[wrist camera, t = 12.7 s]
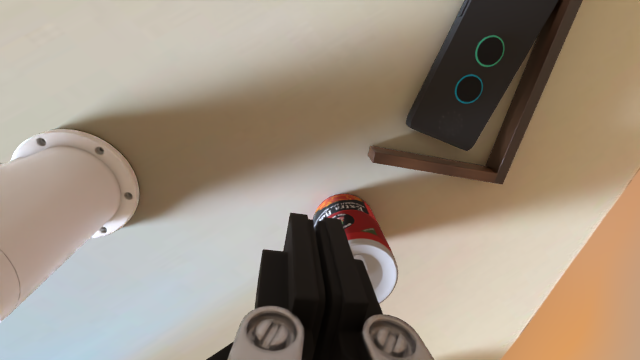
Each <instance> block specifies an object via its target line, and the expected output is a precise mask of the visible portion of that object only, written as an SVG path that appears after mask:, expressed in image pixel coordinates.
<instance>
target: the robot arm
mask: <svg viewBox="0 0 640 360" xmlns="http://www.w3.org/2000/svg"><path fill="white" fill-rule="evenodd" d="M138 202H139V186H138V181H137V178H136V176H135V173H134V171H133V169H132V167H131V166H130V164H129V163H128V161H127V160H126V159H125V158H124V157H123V155H122V154H121V153H120V152H119V151H117V150H116V149H115V148H114V147H113V146H111V145H110V144H109V143H107V142H105V141H104V140H102V139H100V138H98V137H96V136H94V135H91V134H89V133H86V132H81V131H77V130H70V129H57V130H49V131H46V132H43V133H39V134H37V135H35V136H32V137H30V138H28V139H27V140H26V141H24V142H23V143H22V144H20V146H19V147H18V148H17V149H16V151H15V152H14V154H13V156H12V159H11V161H9V162H7V163H0V323H1V322H2V321H3V320H4V319H5V318H6V317H7V316H8V315H9V314H11V313H12V312H13V311H14V310H15V309H16V308H17V307H18V306H19V305H20V304H21V303H22V302H23V301H24V300H25V299H26V298H27V297H28V296H29V295H30V294H32V293H33V292H34V291H35V290H36V289H37V288H38V287H39V286H40V285H41V284H42V283H43V282H44V281H45V280H46V279H47V278H48V277H49V276H50V275H52V274H53V273H54V272H55V271H56V270H57V269H58V268H59V267H60V266H61V265H62V264H63V263H64V262H65V261H66V260H67V259H68V258H69V257H70V256H72V255H73V254H74V253H75V252H76V251H77V250H78V249H79V248H80V247H81V246H82V245H83V244H84V243H85V242H86V241H87V240H88V239H89V238H96V237H102V236H105V235H109V234H111V233H113V232H115V231H117V230H119V229H120V228H121V227H122V226H124V225H125V224H126V223H127V222H128V221H129V220H130V218H131V217H132V216H133V214H134V212H135V211H136V209H137V205H138ZM207 360H434V358H433V357H432V355H431V354H430V352H429V350H428V349H427V347H426V346H425V344H424V343H423V341H422V339H421V338H420V336H419V335H418V334H417V332H416V331H415V330H414V329H413V328H412V327H411V326H410V325H409V324H407V323H406V322H404V321H403V320H401V319H399V318H397V317H394V316H390V315H383V313H382V310H381V308H380V305H379V302H378V300H377V297H376V294H375V292H374V289H373V286H372V284H371V281H370V278H369V275H368V273H367V270H366V267H365V265H364V262H363V261H362V260H360V259H354V257H353V254H352V251H351V248H350V245H349V242H348V239H347V236H346V233H345V230H344V227H343V224H342V221H341V219H337V218H329V217H324V218H323V220H322V221H317V223H316V227H315V228H314V222H313V220H310V219H308V216H307V215H304V214H296V213H290V217H289V223H288V228H287V234H286V240H285V245H284V251H273V250H263V251H262V258H261V264H260V271H259V278H258V285H257V293H256V302H255V309H254V310H252V311H250V312H249V313H248V314H247V315H246V316H245V317H244V318H243V320H242V322H241V323H240V326H239V329H238V331H237V334H236V337H235V340H234V342H232V343H231V344H229V345H228V346H226V347H225V348H223V349H222V350H220V351H219V352H217V353H216V354H214V355H213V356H211V357H210V358H208V359H207Z"/></svg>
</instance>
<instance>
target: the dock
mask: <svg viewBox="0 0 640 360" xmlns="http://www.w3.org/2000/svg"><path fill="white" fill-rule="evenodd" d="M581 3H582V0H558V2H557V4H556V6H555V7H554V9H553V11H552V12H551V14H550V16H549V18H548V19H547V21H546V23H545V24H544V26H543V28H542V30H541V31H540V33H539V36H538V38H537V41H536V43H535V46H534V48H533V51H532V53H531V56H530V58H529V60H528V63H527V65H526V68H525V70H524V73H523V75H522V78H521V80H520V83H519V85H518V88H517V90H516V92H515V95H514V97H513V100H512V102H511V105H510V107H509V110H508V112H507V115H506V117H505V120H504V122H503V125H502V127H501V129H500V132H499V134H498V137H497V139H496V142H495V144H494V147H493V149H492V152H491V154H490V157H489V159H488V161H487V164H486V166H482V165H477V164H471V163H465V162H460V161H454V160H448V159H443V158H437V157H431V156H426V155H420V154H414V153H409V152H403V151H397V150H392V149H386V148H380V147H375V146H370V148H369V152H368V157H369V158H370V159H371V161H372V162H373V163H379V164H385V165H391V166H396V167H402V168H408V169H414V170H420V171H426V172H432V173H438V174H444V175H450V176H456V177H462V178H468V179H474V180H479V181H485V182H491V183H497V184H503V182H504V180H505V177H506V175H507V173H508V170H509V168H510V166H511V164H512V161H513V159H514V157H515V154H516V152H517V150H518V147H519V145H520V143H521V141H522V138H523V136H524V134H525V131H526V129H527V127H528V124H529V122H530V120H531V118H532V115H533V113H534V111H535V108H536V106H537V104H538V101H539V99H540V97H541V95H542V92H543V90H544V88H545V85H546V83H547V81H548V78H549V76H550V74H551V72H552V69H553V67H554V65H555V62H556V60H557V58H558V55H559V53H560V51H561V49H562V46H563V44H564V42H565V39H566V37H567V35H568V32H569V30H570V28H571V26H572V23H573V21H574V19H575V16H576V14H577V12H578V9H579V7H580V5H581Z"/></svg>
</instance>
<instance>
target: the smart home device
mask: <svg viewBox="0 0 640 360" xmlns="http://www.w3.org/2000/svg"><path fill="white" fill-rule="evenodd" d="M557 2H558V0H465V1H464V3H463V5H462V7H461V9H460V11H459V13H458V15H457V17H456V19H455V21H454V23H453V25H452V27H451V29H450V31H449V33H448V35H447V37H446V39H445V41H444V43H443V45H442V47H441V49H440V51H439V53H438V55H437V57H436V59H435V61H434V63H433V65H432V67H431V69H430V71H429V73H428V75H427V77H426V80H425V82H424V84H423V86H422V88H421V90H420V92H419V94H418V96H417V98H416V100H415V102H414V104H413V106H412V108H411V110H410V112H409V114H408V116H407V120H406V124H407V126H409V127H410V128H412V129H414V130H416V131H419V132H421V133H424V134H426V135H429V136H431V137H433V138H436V139H438V140H441V141H443V142H446V143H448V144H451V145H453V146H455V147H458V148H460V149H463V150H465V151H468V150H470V149H471V148H472V147H473V145H474V144H475V143H476V141H477V139H478V137H479V136H480V134H481V132H482V131H483V129H484V127H485V125H486V124H487V122H488V120H489V119H490V117H491V115H492V113H493V112H494V110H495V108H496V107H497V105H498V103H499V101H500V100H501V98H502V96H503V95H504V93H505V91H506V89H507V88H508V86H509V84H510V83H511V81H512V79H513V77H514V76H515V74H516V72H517V71H518V69H519V67H520V65H521V64H522V62H523V60H524V59H525V57H526V55H527V53H528V52H529V50H530V48H531V47H532V45H533V43H534V42H535V40H536V38H537V36H538V35H539V33H540V31H541V30H542V28H543V26H544V24H545V23H546V21H547V19H548V18H549V16H550V14H551V12H552V11H553V9H554V7H555V6H556V4H557Z"/></svg>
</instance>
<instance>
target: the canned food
mask: <svg viewBox="0 0 640 360" xmlns="http://www.w3.org/2000/svg"><path fill="white" fill-rule="evenodd" d="M324 217H329V218H337V219H341V221H342V224H343V227H344V230H345V233H346V236H347V239H348V242H349V245H350V248H351V251H352V254H353V257H354V259H360V260H362V261H363V262H364V265H365V267H366V270H367V273H368V275H369V278H370V281H371V284H372V286H373V289H374V292H375V294H376V297H377V300H378V302H379V304H380V303H381V302H383V301H384V300H385V299H386V298H387V297H388V296H389V295H390V294H391V293H392V291H393V289H394V288H395V285H396V283H397V279H398V267H397V264H396V261H395V258H394V256H393V253H392V251H391V249H390V247H389V245H388V243H387V241H386V239H385V237H384V235H383V233H382V231H381V229H380V227H379V225H378V222H377V220H376V218H375V216H374V214H373V212H372V210H371V209H370V207H369V206H368V205H367V204H366V203H365V202H364V201H363V200H361V199H360V198H358V197H356V196H354V195H350V194H338V195H334V196H332V197H329V198H328V199H326V200H325V201H323V202H322V203H321V204H320V206H319V207H318V208H317V210H316V212H315V214H314V217H313V222H314V228H315V227H316V223H317V221H322V220H323V218H324Z"/></svg>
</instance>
